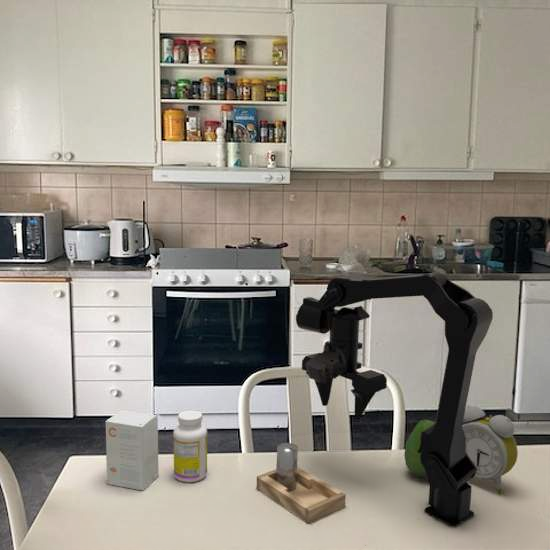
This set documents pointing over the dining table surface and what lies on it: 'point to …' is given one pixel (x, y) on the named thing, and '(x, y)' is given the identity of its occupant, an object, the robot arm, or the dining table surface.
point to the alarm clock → (489, 444)
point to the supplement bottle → (190, 447)
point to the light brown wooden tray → (303, 495)
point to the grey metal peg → (287, 465)
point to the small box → (132, 449)
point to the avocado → (416, 449)
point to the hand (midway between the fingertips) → (340, 412)
